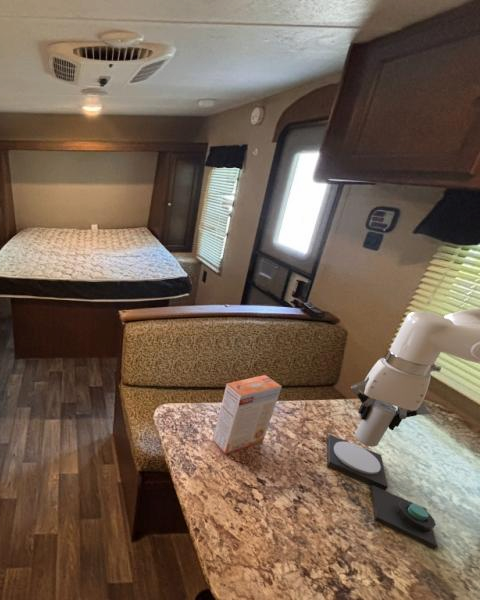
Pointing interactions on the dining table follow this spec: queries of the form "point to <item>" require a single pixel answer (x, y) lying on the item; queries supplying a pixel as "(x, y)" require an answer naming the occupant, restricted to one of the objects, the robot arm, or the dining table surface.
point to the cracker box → (245, 413)
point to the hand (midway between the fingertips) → (376, 420)
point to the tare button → (417, 512)
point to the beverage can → (375, 423)
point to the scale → (356, 462)
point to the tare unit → (401, 517)
